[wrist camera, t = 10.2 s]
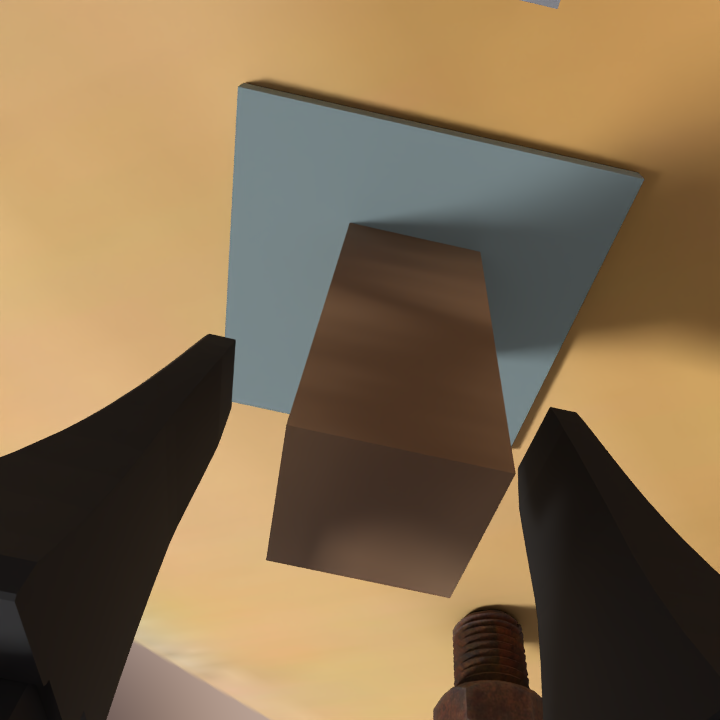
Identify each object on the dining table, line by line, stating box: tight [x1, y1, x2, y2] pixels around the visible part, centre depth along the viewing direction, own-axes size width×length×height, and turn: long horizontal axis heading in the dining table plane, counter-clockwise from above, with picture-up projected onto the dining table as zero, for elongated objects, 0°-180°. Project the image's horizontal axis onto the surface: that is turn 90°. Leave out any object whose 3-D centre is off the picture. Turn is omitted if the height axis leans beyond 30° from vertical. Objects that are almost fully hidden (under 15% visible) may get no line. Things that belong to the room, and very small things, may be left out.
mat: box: [225, 83, 644, 446], centre depth 17 cm, size 10×10×1 cm
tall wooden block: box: [266, 223, 515, 598], centre depth 13 cm, size 4×4×8 cm
